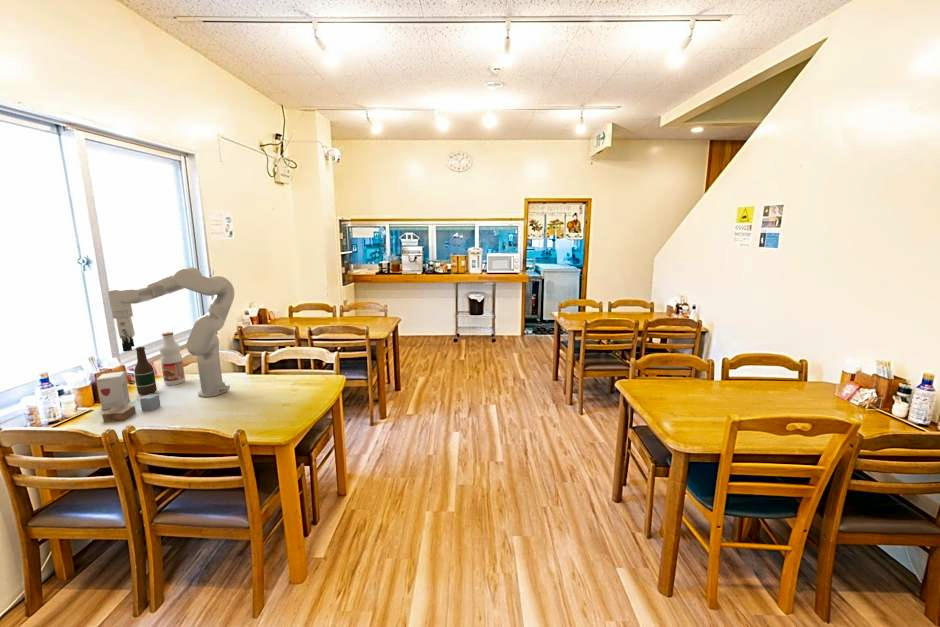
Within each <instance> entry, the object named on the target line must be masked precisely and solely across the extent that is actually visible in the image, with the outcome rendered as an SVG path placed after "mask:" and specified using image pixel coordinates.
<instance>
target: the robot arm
mask: <svg viewBox="0 0 940 627" xmlns="http://www.w3.org/2000/svg"><path fill="white" fill-rule="evenodd" d="M234 288H235V287H234V286H233V284H232V283H231V281H230V280H229V279H228V278H226V277H223V276H220V275H218V276H217V275H215V276H211V277H207V276H204V275H203V274H202V272H201V271H200V269H198V268H196V267H184V268H180V269H177V270H176V271H175V272H171V273H169V274H165V275H163V276H161V277H160V278H159V279H158V280H156V281H153V282H150V283H146V284H145V285H144V284H143V285H139V286H134V287H129V288H126V287H117V288H111V289H108V290H107V291H108V292H107V294H108V295H107V296H108V300H109V305H110V311H111V314H112V315H111V316H112V319H116V326H117V331H118V335H119V338H120V339H121V345H122V351H123V353H124V352H131V351H133V348H134V347H135V343H134V336H135V335H136V333H135V332H136V331H135V328H134V323H133V321H132V317H134V314H133V309H132V304H133V305H134V304H135V305H137V304H141V303H144V302H148V301H151V300H153V299H157V298H159V297H163V296H165V295H168V294H170V295H171V294H172V293H175V292H177V291H181V290H184V289H187V290H189V291H191V292H194V293H197V294H200V295H203V296H207V297H213V296H214V297H213V298H212V300H211V302H210V305H209V308H208V310H207V312H206V314H204V315H202V316H200V317H199V318H197V319H196V321H194V323H193V326H192V329H191V331H190V334H189V336H188V339H187V342H186V344H185V345H186V350H187V352H188V353H189V354H190V355H192V356H195V357H196V362H197V369H198V378H199V382H200V389H201V390H200V391H198V395H197V396H198V397H201V398H209V397H215V396H221V395H222V394H225V393H226V392H227V391H229V390H230V387H231V386H230V384H229V385H228V384H227V385H226V382H223V376H222V367H221V360H220V358H221V357H220V340H219V337H218V336H217V334H216V332H218V331H220V330H221V329H223V328H224V326H225V324H226V323H225V322H226V320H227V318H228V315H229V312H230V309H231V307H232V305H233V302H234V298H235V289H234Z"/></svg>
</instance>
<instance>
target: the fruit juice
mask: <svg viewBox="0 0 940 627" xmlns="http://www.w3.org/2000/svg"><path fill="white" fill-rule="evenodd" d="M161 336H162V338H163V339H162V344H161V345H160V346H159V353H160V355H161V356H160V363H161V364H160V365H161V370H162V376H163V381H164V382H163V383H164V385H166V386H175V385H178V384H182V383H185V381H186V376H185V375H186V374H185V369H184V362H183V357H182V354H181V345H180V344H179V343H178V342H176V340H175V339H174V332H173V331H166V332H162V334H161Z"/></svg>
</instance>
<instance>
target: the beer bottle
mask: <svg viewBox="0 0 940 627" xmlns="http://www.w3.org/2000/svg"><path fill="white" fill-rule="evenodd" d="M145 349H146V347H144V346H138V347H136V348H135V351H136V358H137V359H136V360H137V363H136V365H135V366H134V369H133V372H134V379H135V385H136V391H137V394H138V395H140V396H146V395H152V394H154V393H156V392H157V391H158V390H157V383H156V377H155V371H154V367H153V366H152V364H151V363H150V362H149V360H148V358H147V355H146V351H145ZM155 391H156V392H155ZM151 393H152V394H151Z"/></svg>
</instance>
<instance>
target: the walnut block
mask: <svg viewBox="0 0 940 627" xmlns="http://www.w3.org/2000/svg"><path fill="white" fill-rule="evenodd" d="M136 414H137V412H136V407H135V405H126V406H122V407H114V408H110V409H108V410H107V411H106V412H104V413H102V414H101V416H102V421H103V423H112V422H113V423H114V422H115V423H117V422H125V421H126V420H128V419H130V418H131V417H133V416H134V415H136Z"/></svg>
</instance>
